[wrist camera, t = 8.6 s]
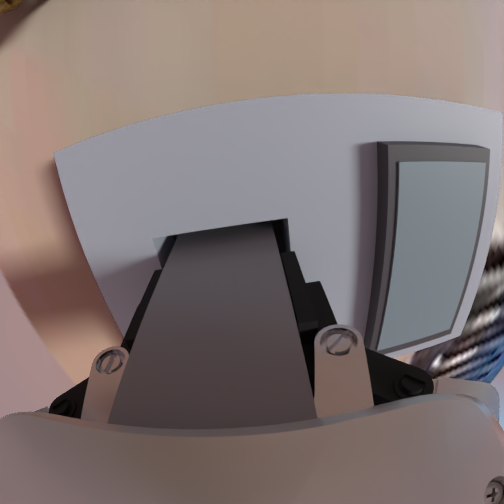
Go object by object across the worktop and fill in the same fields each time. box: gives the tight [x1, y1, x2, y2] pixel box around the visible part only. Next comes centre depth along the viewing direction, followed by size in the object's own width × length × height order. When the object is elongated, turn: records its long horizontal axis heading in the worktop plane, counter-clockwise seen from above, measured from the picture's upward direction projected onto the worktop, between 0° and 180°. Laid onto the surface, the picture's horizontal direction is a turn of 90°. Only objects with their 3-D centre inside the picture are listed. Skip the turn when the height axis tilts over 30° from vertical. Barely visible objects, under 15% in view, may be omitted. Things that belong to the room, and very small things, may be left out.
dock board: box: [54, 93, 503, 358], centre depth 12 cm, size 20×14×4 cm
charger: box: [107, 220, 317, 429], centre depth 9 cm, size 4×4×9 cm
